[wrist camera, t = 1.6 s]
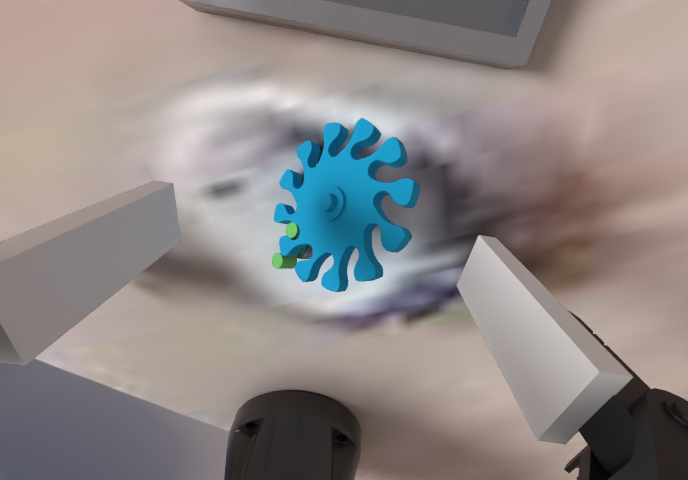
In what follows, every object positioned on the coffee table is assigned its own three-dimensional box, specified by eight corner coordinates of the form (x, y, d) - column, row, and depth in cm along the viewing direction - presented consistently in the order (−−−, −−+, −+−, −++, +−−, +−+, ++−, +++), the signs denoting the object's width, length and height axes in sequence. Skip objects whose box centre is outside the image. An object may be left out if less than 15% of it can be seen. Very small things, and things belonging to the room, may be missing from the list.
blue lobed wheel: (351, 75, 15) (451, 223, 11) (397, 122, 20) (479, 237, 16) (243, 199, 20) (286, 330, 16) (301, 212, 25) (345, 316, 21)
